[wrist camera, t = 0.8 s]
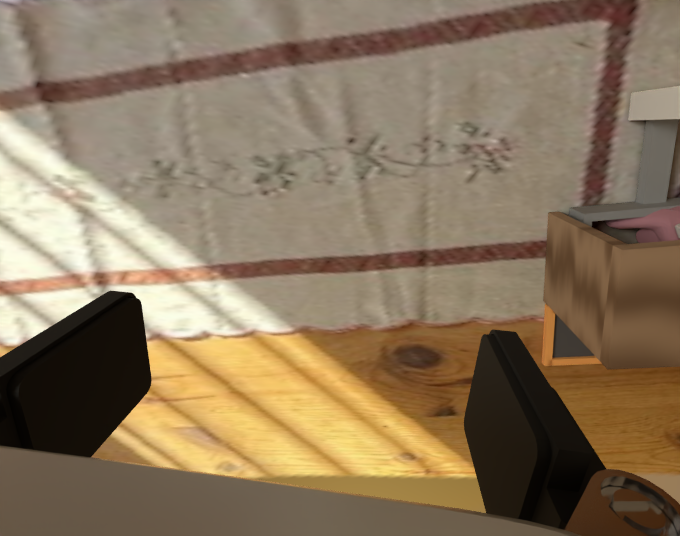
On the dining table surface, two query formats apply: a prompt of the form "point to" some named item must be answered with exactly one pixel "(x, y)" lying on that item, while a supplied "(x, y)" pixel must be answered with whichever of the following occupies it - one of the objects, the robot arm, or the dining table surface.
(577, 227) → the brown wooden stand
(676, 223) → the video game controller
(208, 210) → the dining table surface
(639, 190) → the grey drawer with handle
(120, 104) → the dining table surface
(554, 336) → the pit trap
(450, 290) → the dining table surface
